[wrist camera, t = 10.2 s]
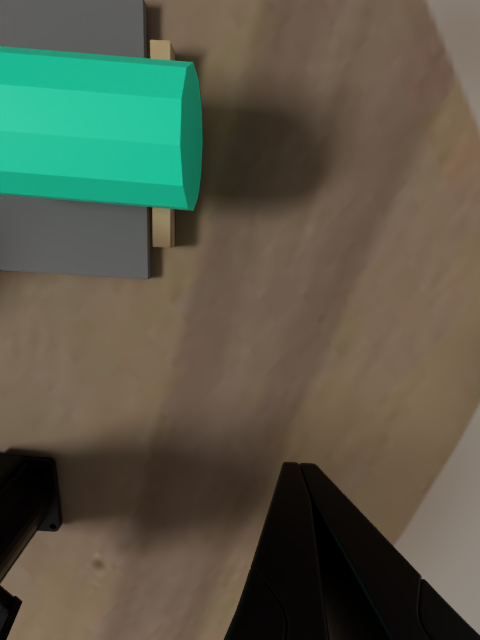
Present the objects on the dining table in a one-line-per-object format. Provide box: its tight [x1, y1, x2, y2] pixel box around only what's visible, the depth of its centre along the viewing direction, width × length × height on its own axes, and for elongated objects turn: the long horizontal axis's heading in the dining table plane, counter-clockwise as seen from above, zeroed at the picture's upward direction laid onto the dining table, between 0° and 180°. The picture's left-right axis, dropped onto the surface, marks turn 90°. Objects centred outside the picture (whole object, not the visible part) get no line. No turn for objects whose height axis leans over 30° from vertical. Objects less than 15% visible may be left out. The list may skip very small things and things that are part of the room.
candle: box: [0, 46, 203, 211], centre depth 15 cm, size 6×6×12 cm
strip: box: [150, 40, 175, 248], centre depth 18 cm, size 10×1×1 cm, turn 177°
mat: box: [0, 0, 151, 279], centre depth 18 cm, size 14×11×1 cm
